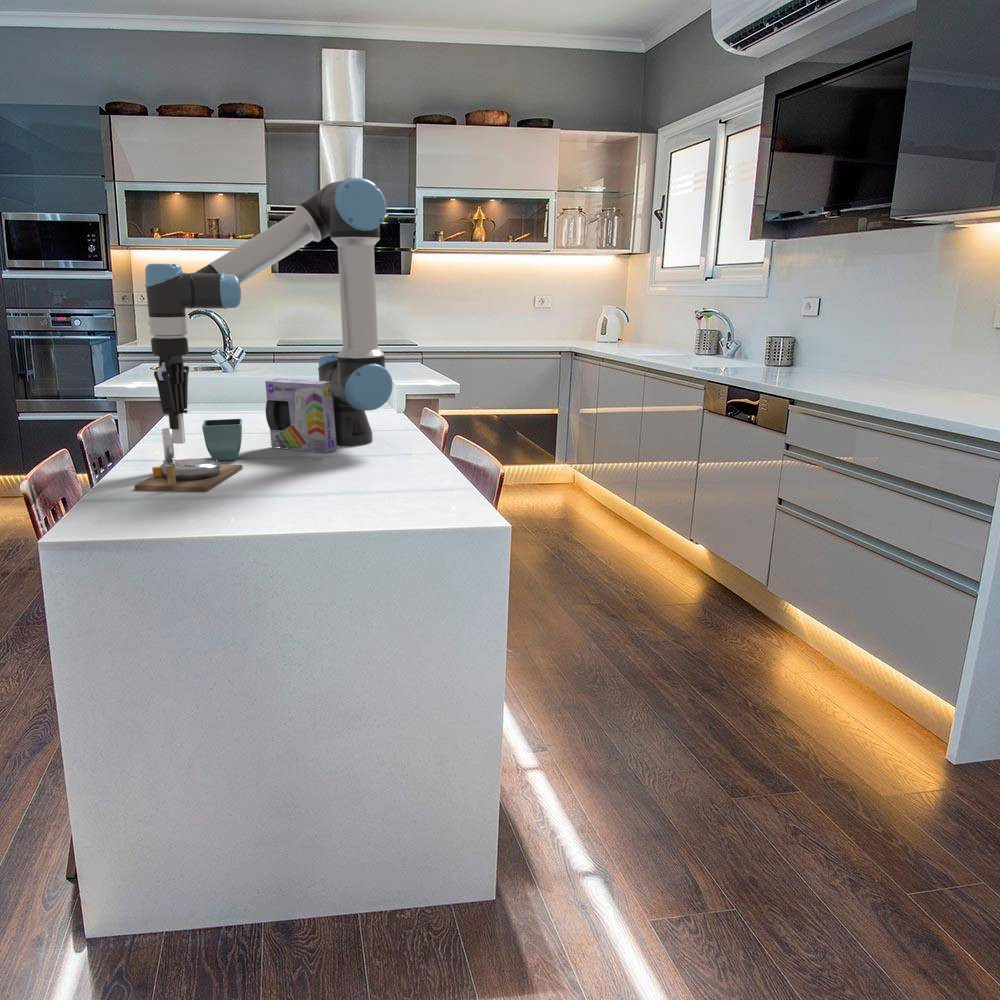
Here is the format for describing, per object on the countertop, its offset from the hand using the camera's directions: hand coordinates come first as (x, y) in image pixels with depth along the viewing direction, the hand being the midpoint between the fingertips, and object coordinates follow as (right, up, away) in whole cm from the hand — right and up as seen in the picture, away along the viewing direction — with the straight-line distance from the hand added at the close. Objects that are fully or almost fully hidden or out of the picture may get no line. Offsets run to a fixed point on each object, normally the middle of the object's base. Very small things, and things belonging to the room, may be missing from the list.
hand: (178, 442), depth 191 cm
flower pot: (+7, -3, +12) cm, 14 cm away
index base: (+6, -8, -8) cm, 13 cm away
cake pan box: (+22, 0, +24) cm, 33 cm away
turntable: (+5, -7, -8) cm, 12 cm away
